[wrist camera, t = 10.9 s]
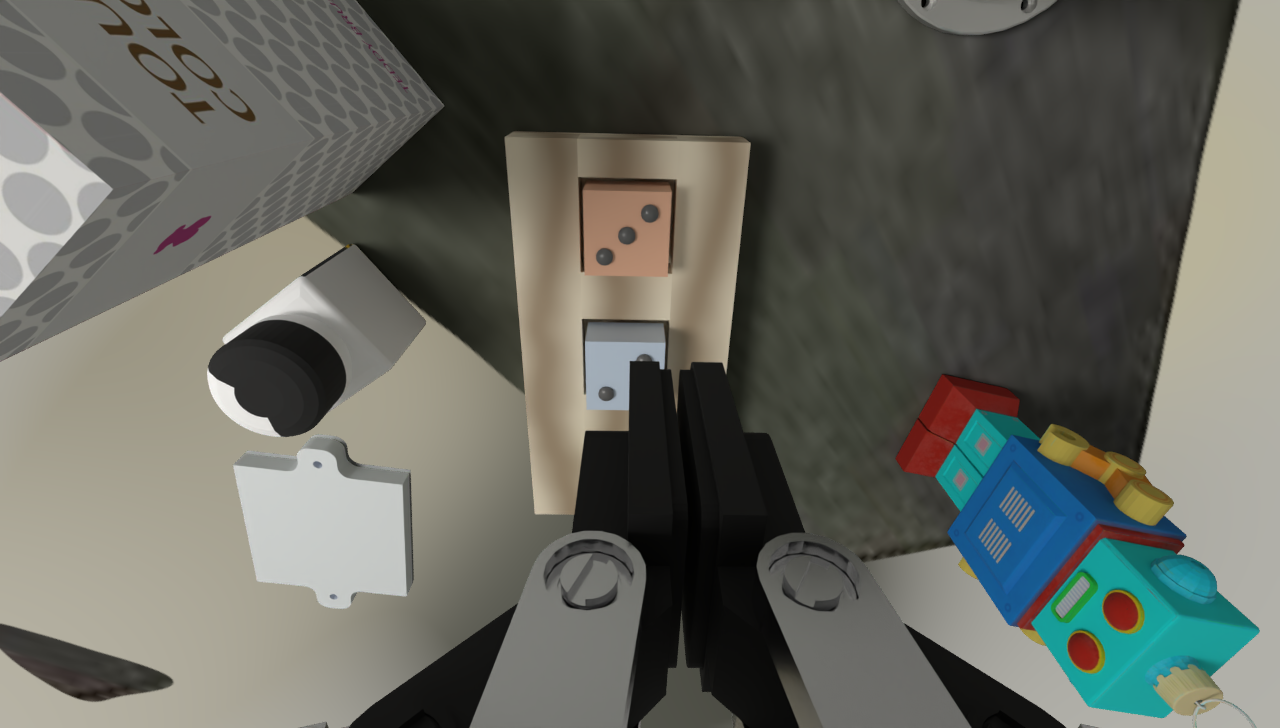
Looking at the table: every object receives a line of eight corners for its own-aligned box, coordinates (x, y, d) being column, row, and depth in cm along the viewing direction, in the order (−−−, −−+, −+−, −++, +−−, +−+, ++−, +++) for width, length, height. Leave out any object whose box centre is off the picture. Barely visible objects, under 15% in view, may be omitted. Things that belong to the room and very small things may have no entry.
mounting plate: (242, 424, 46) (227, 438, 44) (409, 445, 47) (401, 459, 45) (272, 583, 54) (261, 600, 52) (414, 598, 55) (407, 615, 53)
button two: (663, 323, 39) (665, 344, 36) (660, 387, 41) (662, 412, 38) (588, 322, 38) (584, 342, 36) (589, 386, 41) (586, 411, 38)
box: (236, 75, 34) (-515, 107, 12) (330, -30, 31) (-385, -239, 9) (351, 193, 37) (-67, 393, 15) (444, 105, 35) (113, 189, 13)
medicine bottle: (354, 240, 38) (248, 309, 28) (429, 321, 41) (359, 412, 31) (282, 296, 40) (156, 382, 30) (359, 371, 43) (269, 473, 32)
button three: (668, 182, 35) (671, 193, 32) (665, 261, 37) (667, 278, 35) (586, 180, 35) (582, 190, 32) (588, 259, 37) (584, 276, 35)
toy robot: (952, 353, 43) (1292, 667, 21) (1025, 370, 44) (1428, 690, 21) (885, 473, 48) (1100, 826, 26) (951, 486, 49) (1215, 841, 27)
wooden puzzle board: (741, 136, 36) (750, 142, 33) (706, 491, 49) (710, 515, 46) (514, 131, 35) (504, 137, 33) (540, 489, 48) (534, 514, 46)
